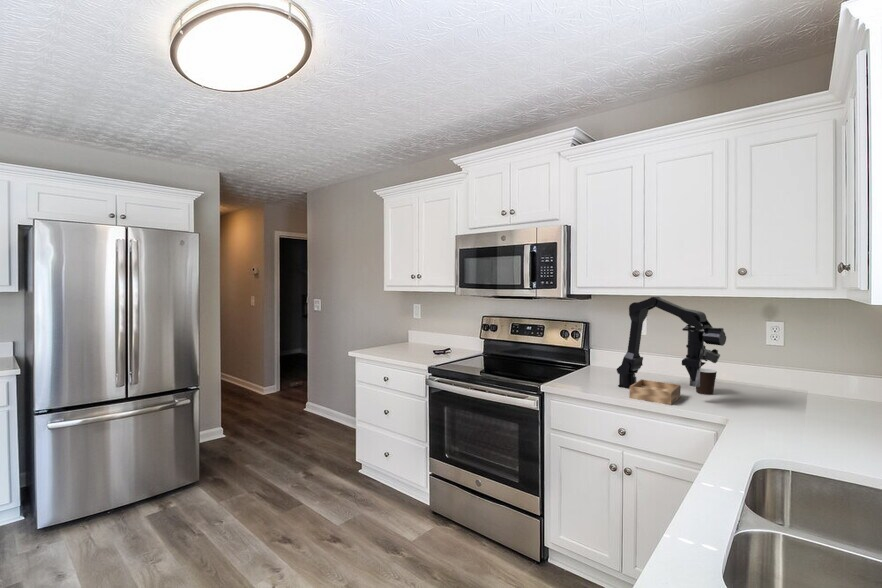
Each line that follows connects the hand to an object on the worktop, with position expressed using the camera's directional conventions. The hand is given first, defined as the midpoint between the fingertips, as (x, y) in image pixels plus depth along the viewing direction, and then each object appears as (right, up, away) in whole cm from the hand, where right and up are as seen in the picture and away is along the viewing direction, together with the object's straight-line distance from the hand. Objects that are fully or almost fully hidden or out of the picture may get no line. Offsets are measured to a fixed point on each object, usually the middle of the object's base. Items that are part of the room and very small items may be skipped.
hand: (694, 380), depth 183 cm
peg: (0, -2, 0) cm, 2 cm away
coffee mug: (+14, -8, +15) cm, 22 cm away
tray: (-13, -9, +7) cm, 17 cm away
